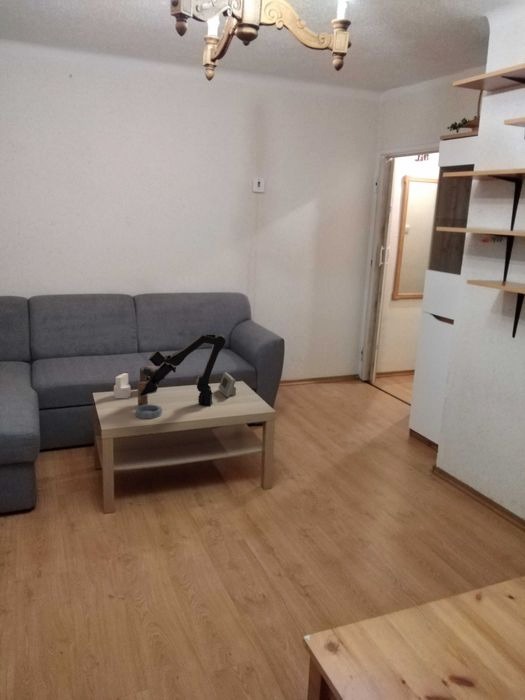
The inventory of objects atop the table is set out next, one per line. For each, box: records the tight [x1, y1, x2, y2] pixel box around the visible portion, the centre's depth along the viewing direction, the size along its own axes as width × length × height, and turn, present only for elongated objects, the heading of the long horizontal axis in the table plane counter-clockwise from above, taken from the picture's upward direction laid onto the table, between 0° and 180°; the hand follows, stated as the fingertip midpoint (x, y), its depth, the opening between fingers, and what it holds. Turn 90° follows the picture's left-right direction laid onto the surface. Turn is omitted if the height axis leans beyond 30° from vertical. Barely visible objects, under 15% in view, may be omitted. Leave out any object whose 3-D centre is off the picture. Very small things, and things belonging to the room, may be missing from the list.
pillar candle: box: [139, 365, 158, 394], centre depth 315 cm, size 10×10×15 cm
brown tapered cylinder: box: [137, 381, 149, 407], centre depth 291 cm, size 5×5×12 cm
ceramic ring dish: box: [134, 404, 163, 420], centre depth 281 cm, size 13×13×3 cm
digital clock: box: [218, 371, 237, 398], centre depth 316 cm, size 16×9×11 cm, turn 10°
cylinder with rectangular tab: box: [113, 372, 132, 399], centre depth 305 cm, size 9×9×12 cm
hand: (141, 392), depth 291 cm, fingers open, 9 cm apart
